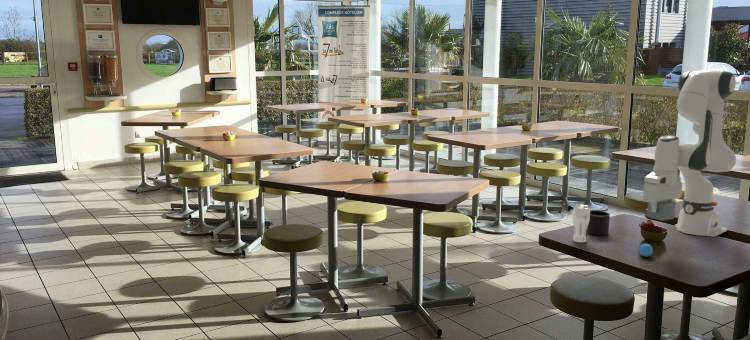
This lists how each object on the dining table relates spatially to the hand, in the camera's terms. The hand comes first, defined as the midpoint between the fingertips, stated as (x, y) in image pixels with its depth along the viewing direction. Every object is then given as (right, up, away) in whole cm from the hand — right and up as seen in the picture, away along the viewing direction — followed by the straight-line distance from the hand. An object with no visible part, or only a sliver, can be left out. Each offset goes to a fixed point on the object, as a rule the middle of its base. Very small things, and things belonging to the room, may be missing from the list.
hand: (661, 210), depth 255 cm
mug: (-15, -12, +29) cm, 35 cm away
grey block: (0, -3, +1) cm, 3 cm away
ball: (-8, -15, -4) cm, 17 cm away
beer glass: (-28, -14, +16) cm, 35 cm away
